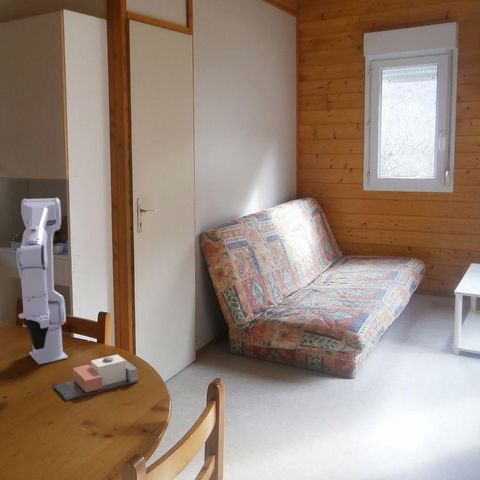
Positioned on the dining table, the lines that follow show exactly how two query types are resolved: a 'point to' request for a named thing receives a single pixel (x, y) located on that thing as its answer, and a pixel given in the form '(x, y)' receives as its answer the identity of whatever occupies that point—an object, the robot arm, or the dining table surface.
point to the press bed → (75, 391)
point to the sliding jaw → (87, 378)
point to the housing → (110, 369)
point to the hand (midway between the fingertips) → (39, 348)
